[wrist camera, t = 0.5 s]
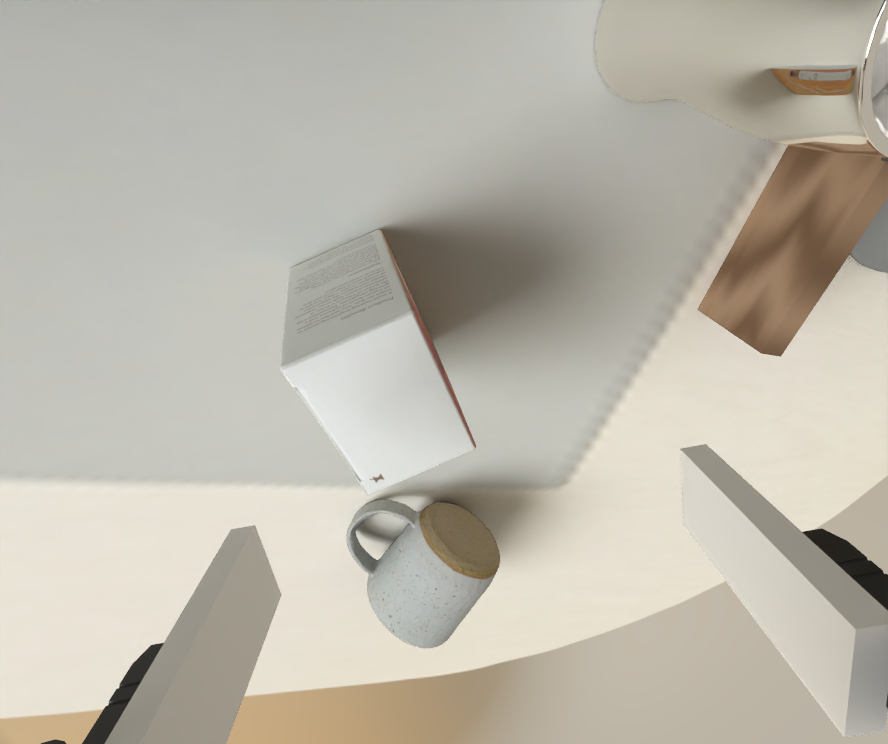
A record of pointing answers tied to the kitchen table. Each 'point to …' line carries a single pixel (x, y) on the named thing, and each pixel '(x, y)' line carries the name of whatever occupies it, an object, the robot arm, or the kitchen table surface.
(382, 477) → the small box
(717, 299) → the board
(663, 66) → the beer glass
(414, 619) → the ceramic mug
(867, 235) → the round pad
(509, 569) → the kitchen table surface
